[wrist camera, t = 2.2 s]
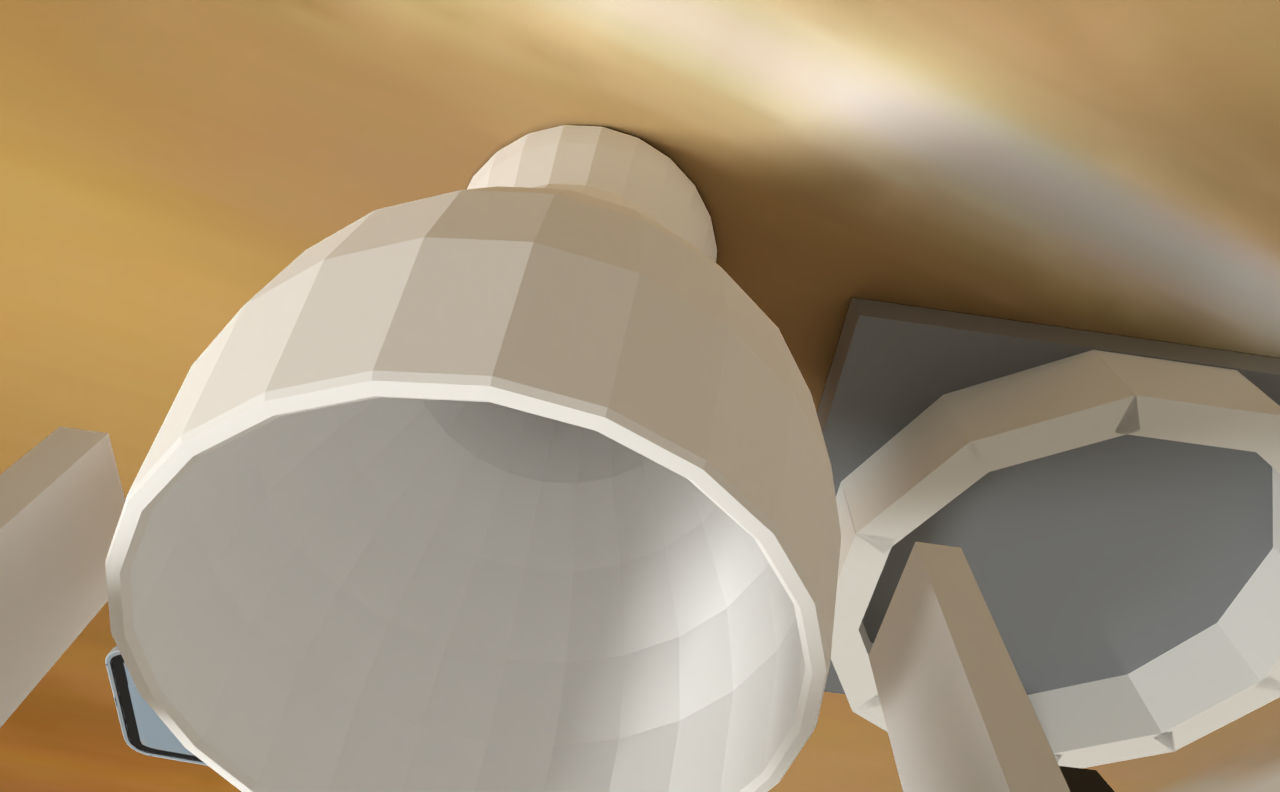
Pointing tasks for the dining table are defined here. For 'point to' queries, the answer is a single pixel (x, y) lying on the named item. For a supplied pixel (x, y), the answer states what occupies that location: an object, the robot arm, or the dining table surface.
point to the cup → (491, 504)
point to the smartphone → (142, 717)
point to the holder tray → (1066, 515)
